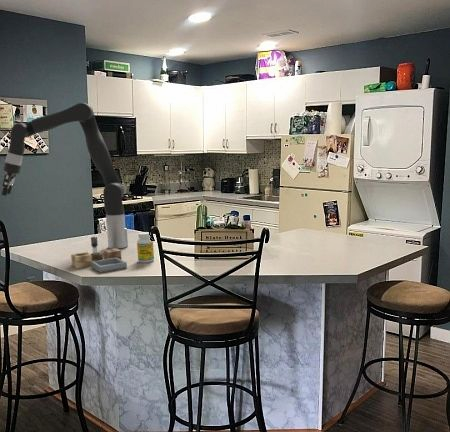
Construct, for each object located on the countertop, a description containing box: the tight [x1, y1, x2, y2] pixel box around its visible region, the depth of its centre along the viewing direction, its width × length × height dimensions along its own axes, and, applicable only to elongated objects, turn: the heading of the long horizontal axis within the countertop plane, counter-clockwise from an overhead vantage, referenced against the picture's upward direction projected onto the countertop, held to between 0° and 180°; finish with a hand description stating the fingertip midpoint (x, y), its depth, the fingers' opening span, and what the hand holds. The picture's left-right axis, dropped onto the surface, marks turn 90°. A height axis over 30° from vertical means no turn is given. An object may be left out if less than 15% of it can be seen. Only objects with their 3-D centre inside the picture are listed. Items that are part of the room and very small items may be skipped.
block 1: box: [70, 251, 92, 269], centre depth 223 cm, size 7×7×5 cm
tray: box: [90, 258, 128, 274], centre depth 217 cm, size 12×12×3 cm
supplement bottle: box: [136, 231, 155, 263], centre depth 227 cm, size 7×7×13 cm
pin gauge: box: [90, 236, 99, 255], centre depth 231 cm, size 3×3×11 cm
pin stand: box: [90, 252, 104, 261], centre depth 231 cm, size 5×5×3 cm
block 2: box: [103, 248, 122, 260], centre depth 229 cm, size 6×6×5 cm
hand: (6, 194), depth 250 cm, fingers open, 8 cm apart
